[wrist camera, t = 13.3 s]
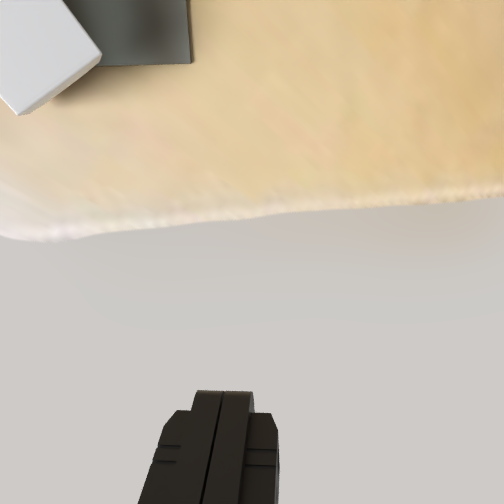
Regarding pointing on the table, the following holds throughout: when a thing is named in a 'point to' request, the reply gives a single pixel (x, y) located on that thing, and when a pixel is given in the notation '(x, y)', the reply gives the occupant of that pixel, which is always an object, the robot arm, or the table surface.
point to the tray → (135, 30)
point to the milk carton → (41, 52)
